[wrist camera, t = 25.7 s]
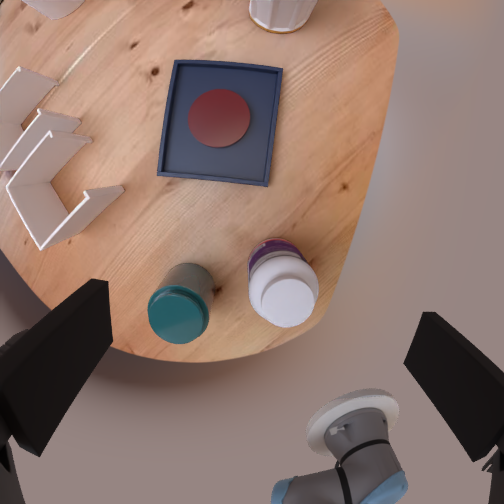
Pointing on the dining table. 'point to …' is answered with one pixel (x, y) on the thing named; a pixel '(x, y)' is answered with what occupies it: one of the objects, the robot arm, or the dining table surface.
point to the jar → (182, 304)
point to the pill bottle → (281, 283)
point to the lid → (219, 118)
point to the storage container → (43, 161)
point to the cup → (280, 14)
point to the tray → (238, 155)
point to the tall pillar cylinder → (54, 7)
